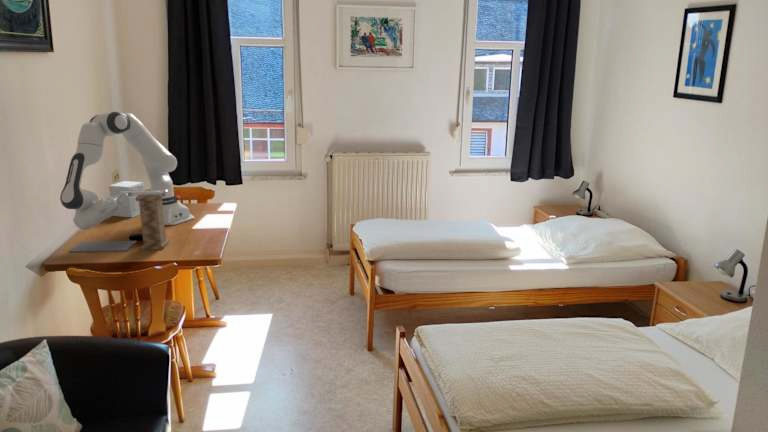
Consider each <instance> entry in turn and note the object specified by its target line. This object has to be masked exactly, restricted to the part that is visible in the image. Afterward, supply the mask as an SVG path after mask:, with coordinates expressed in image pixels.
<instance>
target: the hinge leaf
mask: <svg viewBox="0 0 768 432" xmlns="http://www.w3.org/2000/svg"><path fill="white" fill-rule="evenodd" d="M125 194H128V195H129V196H167V195H168V194H169V190H168V189H166V190H151V189H150V190H148V189H147V190H145V189H144V190H137V191H121V192H120V196H124V195H125Z"/></svg>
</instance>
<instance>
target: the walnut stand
mask: <svg viewBox="0 0 768 432" xmlns="http://www.w3.org/2000/svg"><path fill="white" fill-rule="evenodd" d="M162 197H163V196H137V197H136V201H139V207H140V214H139V216H140V222H141V223H140V224H141V233H142V234H141V235H142V241H143V244H142V245H141V246H140V249H141V250H143V251H144V250H148V251H149V250H164V249H165V248H166V247H167V246H168V244H169V243H170V240H169V239H167V236H166V227H165V226H166V225H164V215H163V205H162Z"/></svg>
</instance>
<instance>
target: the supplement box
mask: <svg viewBox="0 0 768 432" xmlns="http://www.w3.org/2000/svg"><path fill="white" fill-rule="evenodd" d="M144 185H145V184H144V181H129V180H124V181H120V182H115V183H113V184H110V185H108V189H109V197H111V196H112V197H113V196H115V195H118V194H120V192H121V191H131V190H132V189H135V191H137V190H145V188H144V187H145V186H144ZM136 197H137V196H131V197H130V198H129V199H128V200H127V201H125V202H124V203H123V204H122V205H120V207H119V208H118V209H117V211H116V214H114V215H112V216H111V217H122V218H134V217H137V216H140V207H139V201H136Z"/></svg>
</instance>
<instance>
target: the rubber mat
mask: <svg viewBox="0 0 768 432" xmlns="http://www.w3.org/2000/svg"><path fill="white" fill-rule="evenodd" d="M137 242H138V241H137V240H109V241H107V240H105V241H103V240H101V241H100V240H99V241H98V240H97V241H81V242H79V243H78V244H76V246H74V247H72V248H71V249H70V250H69V251H68V253H100V252H101V253H106V252H110V251H116V252H128V251H129V250H130V249H131V248H132V247H133V246H134V245H135V244H136V243H137Z"/></svg>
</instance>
